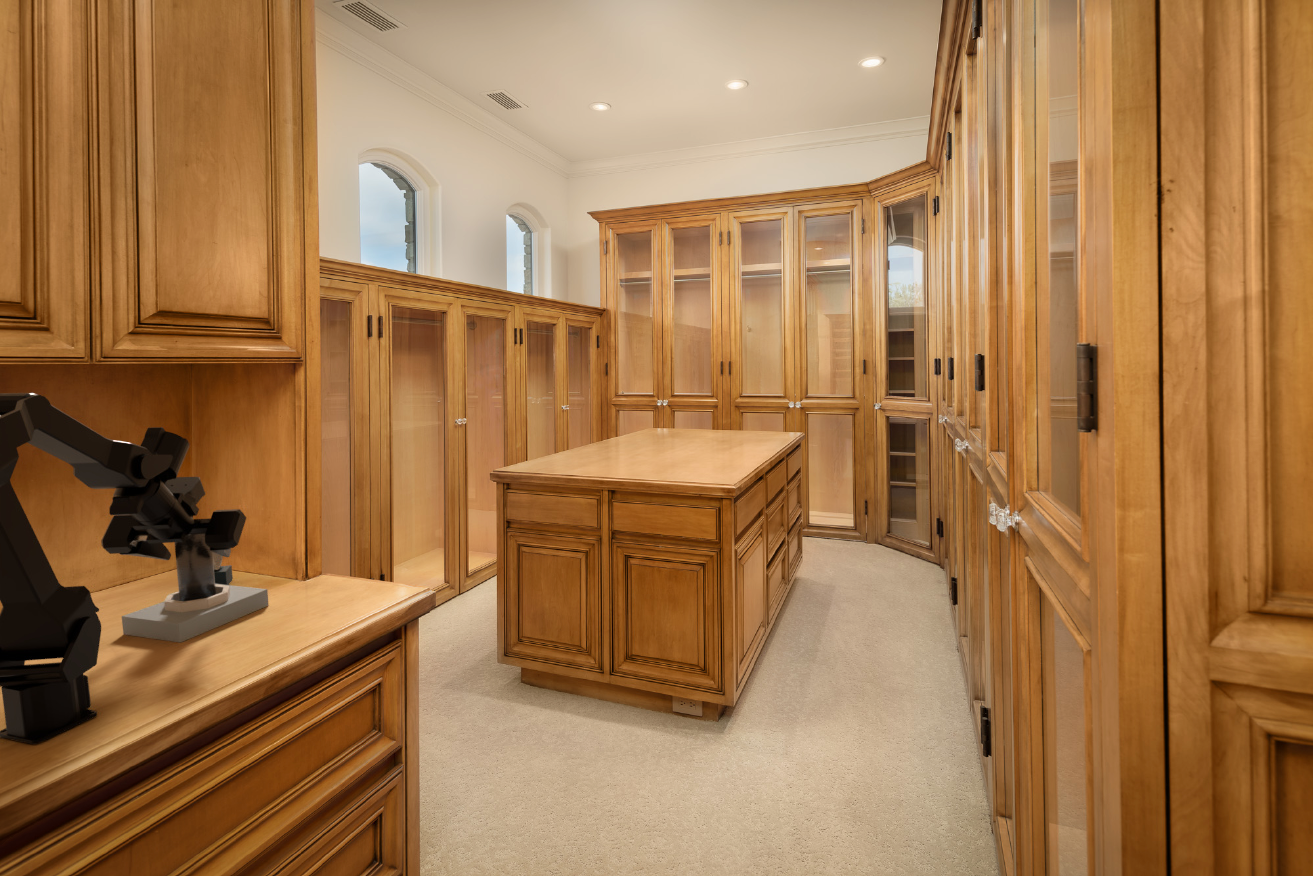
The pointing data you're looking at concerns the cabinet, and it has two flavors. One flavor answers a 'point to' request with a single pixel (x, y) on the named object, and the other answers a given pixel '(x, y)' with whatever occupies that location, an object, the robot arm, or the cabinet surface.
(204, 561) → the lens
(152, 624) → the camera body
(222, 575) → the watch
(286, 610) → the cabinet surface
